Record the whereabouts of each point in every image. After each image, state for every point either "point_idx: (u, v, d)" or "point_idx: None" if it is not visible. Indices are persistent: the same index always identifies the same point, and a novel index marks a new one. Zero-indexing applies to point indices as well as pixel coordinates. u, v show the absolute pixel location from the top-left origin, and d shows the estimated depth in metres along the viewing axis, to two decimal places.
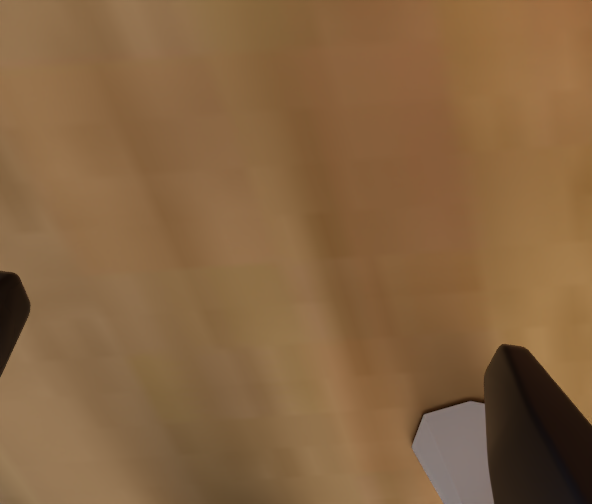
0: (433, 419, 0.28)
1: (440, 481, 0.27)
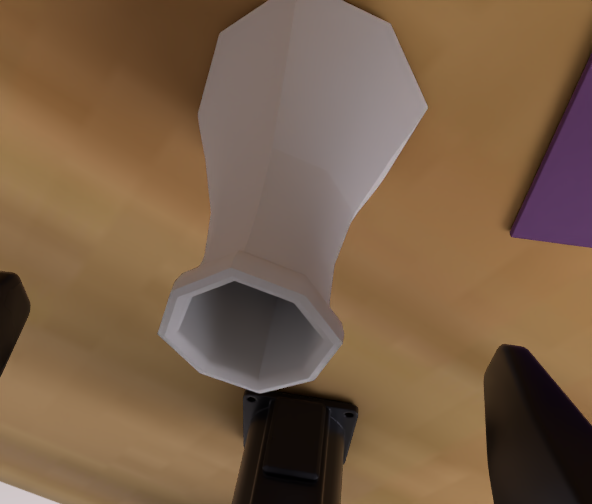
0: (201, 108, 0.16)
1: None
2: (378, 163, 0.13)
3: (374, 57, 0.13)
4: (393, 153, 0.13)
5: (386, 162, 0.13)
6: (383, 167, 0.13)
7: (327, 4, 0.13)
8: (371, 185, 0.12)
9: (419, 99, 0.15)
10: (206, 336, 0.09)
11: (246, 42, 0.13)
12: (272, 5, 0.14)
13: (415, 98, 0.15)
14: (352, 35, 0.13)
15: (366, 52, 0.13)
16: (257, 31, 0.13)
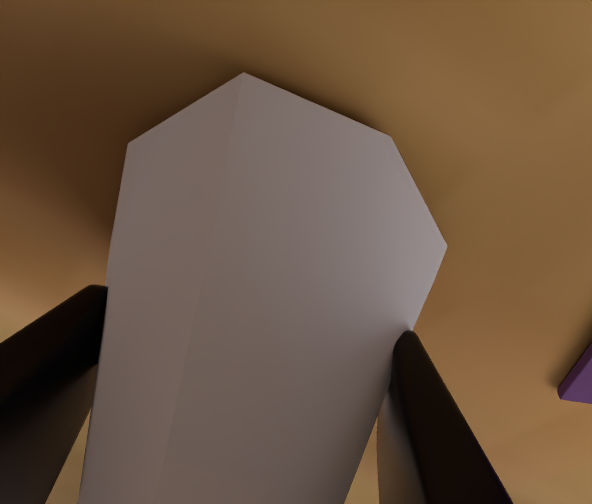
0: None
1: None
2: (375, 390, 0.07)
3: (366, 205, 0.08)
4: None
5: (387, 382, 0.08)
6: (383, 396, 0.07)
7: (287, 113, 0.08)
8: (363, 448, 0.07)
9: (435, 239, 0.10)
10: None
11: (158, 175, 0.08)
12: (203, 111, 0.09)
13: (429, 242, 0.09)
14: (329, 167, 0.08)
15: (352, 195, 0.08)
16: (176, 155, 0.08)
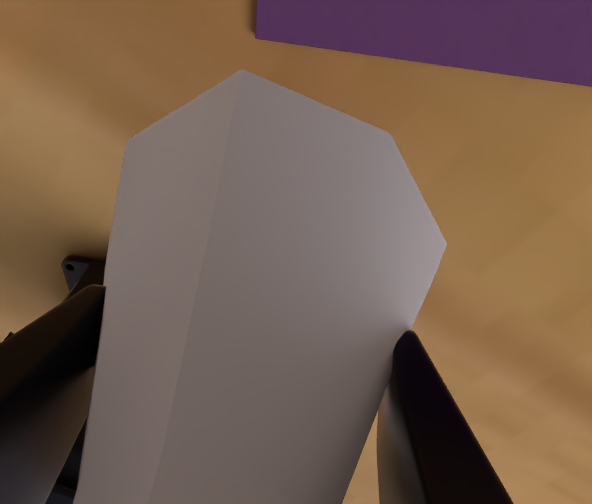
0: (109, 241, 0.11)
1: None
2: (373, 389, 0.07)
3: (365, 202, 0.08)
4: None
5: (386, 380, 0.08)
6: (382, 394, 0.07)
7: (286, 109, 0.08)
8: (361, 446, 0.07)
9: (435, 237, 0.10)
10: None
11: (155, 171, 0.08)
12: (202, 107, 0.08)
13: (429, 239, 0.09)
14: (328, 164, 0.08)
15: (351, 193, 0.08)
16: (175, 152, 0.08)
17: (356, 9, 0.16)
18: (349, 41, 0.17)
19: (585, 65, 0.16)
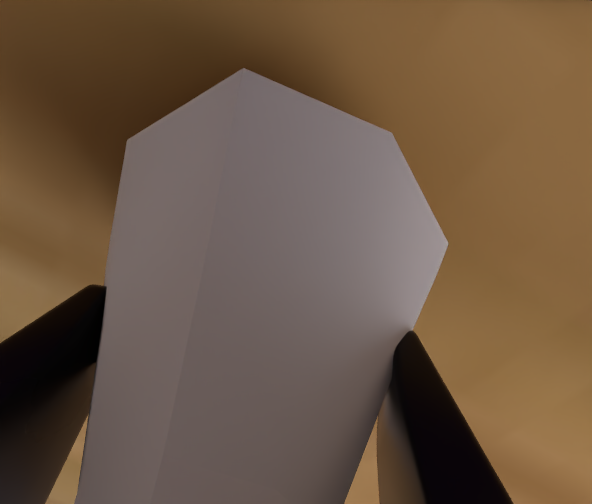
0: (110, 240, 0.11)
1: None
2: (375, 389, 0.07)
3: (366, 202, 0.08)
4: None
5: (388, 380, 0.08)
6: (384, 394, 0.07)
7: (288, 108, 0.08)
8: (363, 446, 0.07)
9: (436, 236, 0.10)
10: None
11: (157, 171, 0.08)
12: (203, 107, 0.08)
13: (430, 239, 0.09)
14: (330, 163, 0.08)
15: (353, 192, 0.08)
16: (175, 151, 0.08)
17: None
18: None
19: None
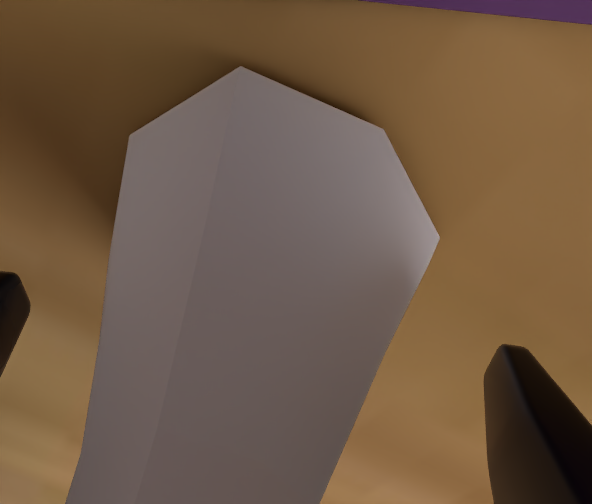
0: None
1: None
2: (363, 374, 0.08)
3: (357, 195, 0.08)
4: (388, 343, 0.08)
5: (376, 366, 0.08)
6: (371, 379, 0.08)
7: (282, 105, 0.08)
8: (350, 427, 0.07)
9: (428, 230, 0.10)
10: None
11: (156, 164, 0.09)
12: (201, 104, 0.09)
13: (421, 233, 0.10)
14: (322, 158, 0.08)
15: (344, 186, 0.08)
16: (175, 146, 0.09)
17: None
18: None
19: None
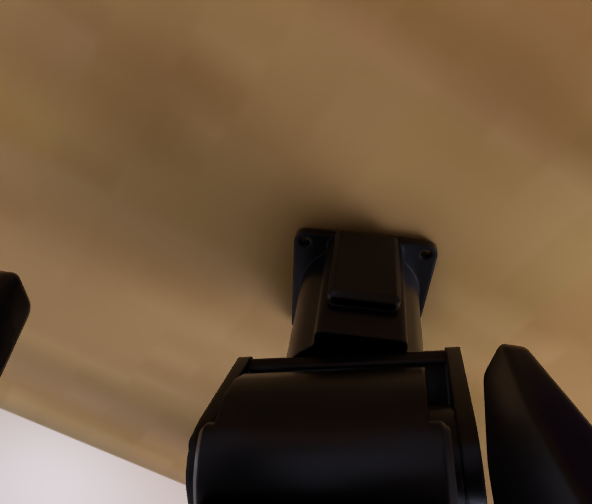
0: None
1: None
2: None
3: None
4: None
5: None
6: None
7: None
8: None
9: None
10: None
11: None
12: None
13: None
14: None
15: None
16: None
17: None
18: None
19: None
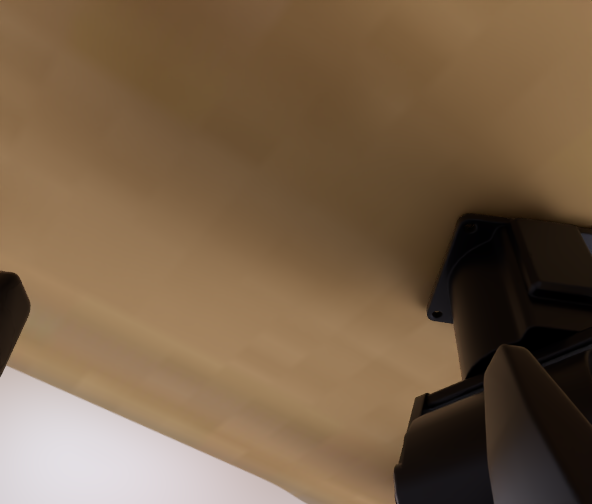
0: None
1: None
2: None
3: None
4: None
5: None
6: None
7: None
8: None
9: None
10: None
11: None
12: None
13: None
14: None
15: None
16: None
17: None
18: None
19: None
